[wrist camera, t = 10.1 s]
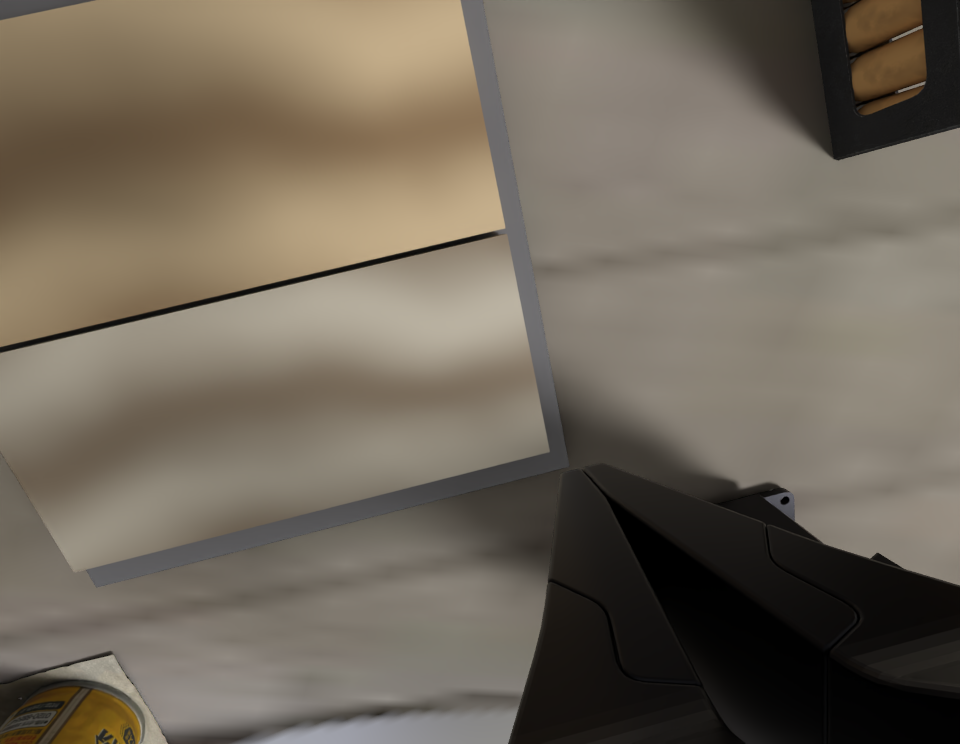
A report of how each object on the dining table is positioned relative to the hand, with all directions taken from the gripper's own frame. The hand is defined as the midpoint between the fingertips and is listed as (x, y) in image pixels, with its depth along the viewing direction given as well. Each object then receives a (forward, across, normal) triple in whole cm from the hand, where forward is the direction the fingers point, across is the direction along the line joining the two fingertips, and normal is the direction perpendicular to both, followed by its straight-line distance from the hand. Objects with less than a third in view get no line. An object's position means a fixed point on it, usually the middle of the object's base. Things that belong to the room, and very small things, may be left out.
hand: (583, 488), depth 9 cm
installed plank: (+11, +9, -10) cm, 17 cm away
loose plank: (+11, +9, 0) cm, 14 cm away
